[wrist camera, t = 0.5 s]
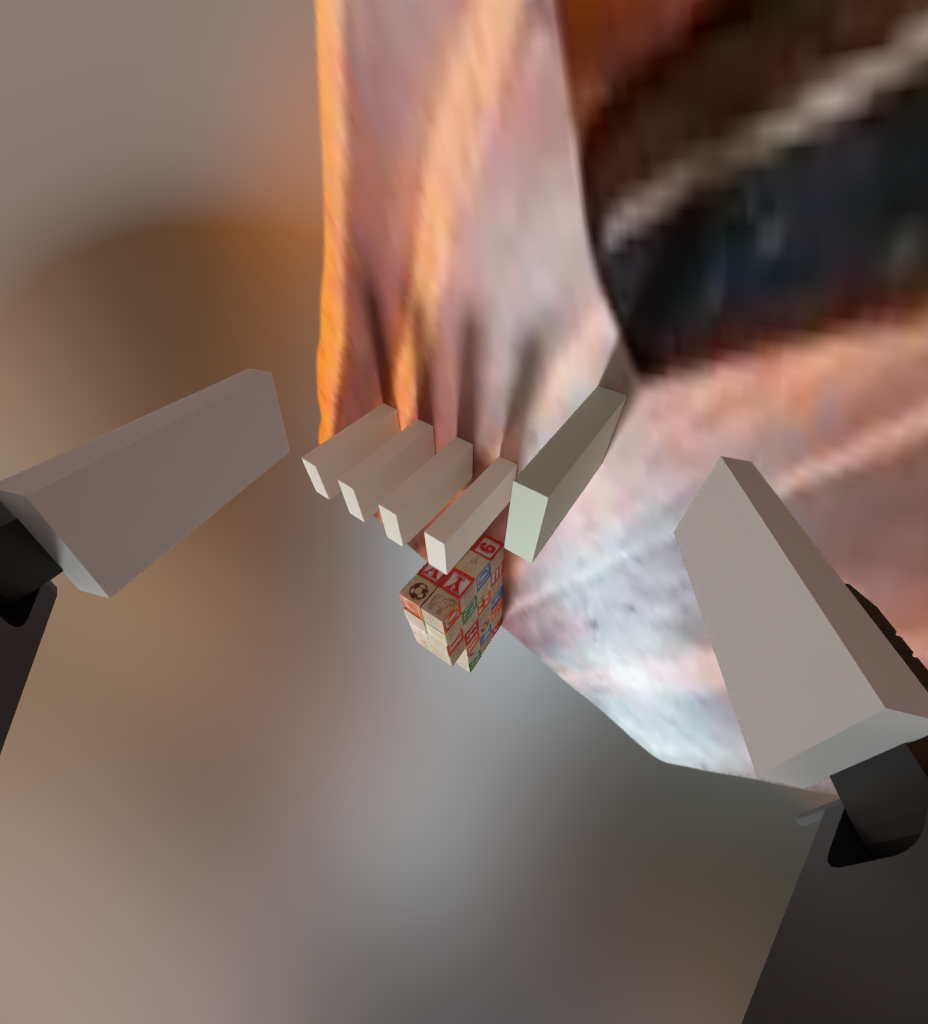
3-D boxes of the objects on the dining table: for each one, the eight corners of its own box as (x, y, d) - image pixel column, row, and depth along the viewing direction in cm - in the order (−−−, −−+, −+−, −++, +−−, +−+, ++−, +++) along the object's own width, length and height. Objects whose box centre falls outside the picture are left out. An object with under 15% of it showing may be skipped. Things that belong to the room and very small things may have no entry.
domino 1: (396, 409, 40) (315, 466, 34) (402, 443, 43) (329, 499, 37) (383, 403, 40) (301, 457, 35) (389, 436, 44) (316, 491, 38)
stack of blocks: (503, 624, 59) (458, 691, 53) (471, 605, 62) (424, 666, 56) (505, 543, 44) (441, 624, 37) (462, 522, 47) (396, 593, 40)
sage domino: (627, 395, 24) (548, 497, 18) (601, 464, 28) (531, 563, 23) (598, 385, 25) (513, 480, 19) (577, 454, 29) (504, 547, 23)
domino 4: (517, 464, 34) (444, 544, 28) (512, 498, 37) (446, 575, 32) (499, 455, 35) (424, 532, 29) (496, 489, 38) (428, 563, 32)
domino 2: (432, 425, 38) (353, 489, 32) (435, 459, 41) (364, 522, 35) (418, 419, 38) (337, 479, 33) (422, 452, 42) (349, 512, 36)
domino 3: (472, 444, 36) (395, 514, 30) (472, 477, 39) (403, 547, 34) (456, 436, 36) (378, 504, 31) (457, 470, 40) (387, 536, 34)
